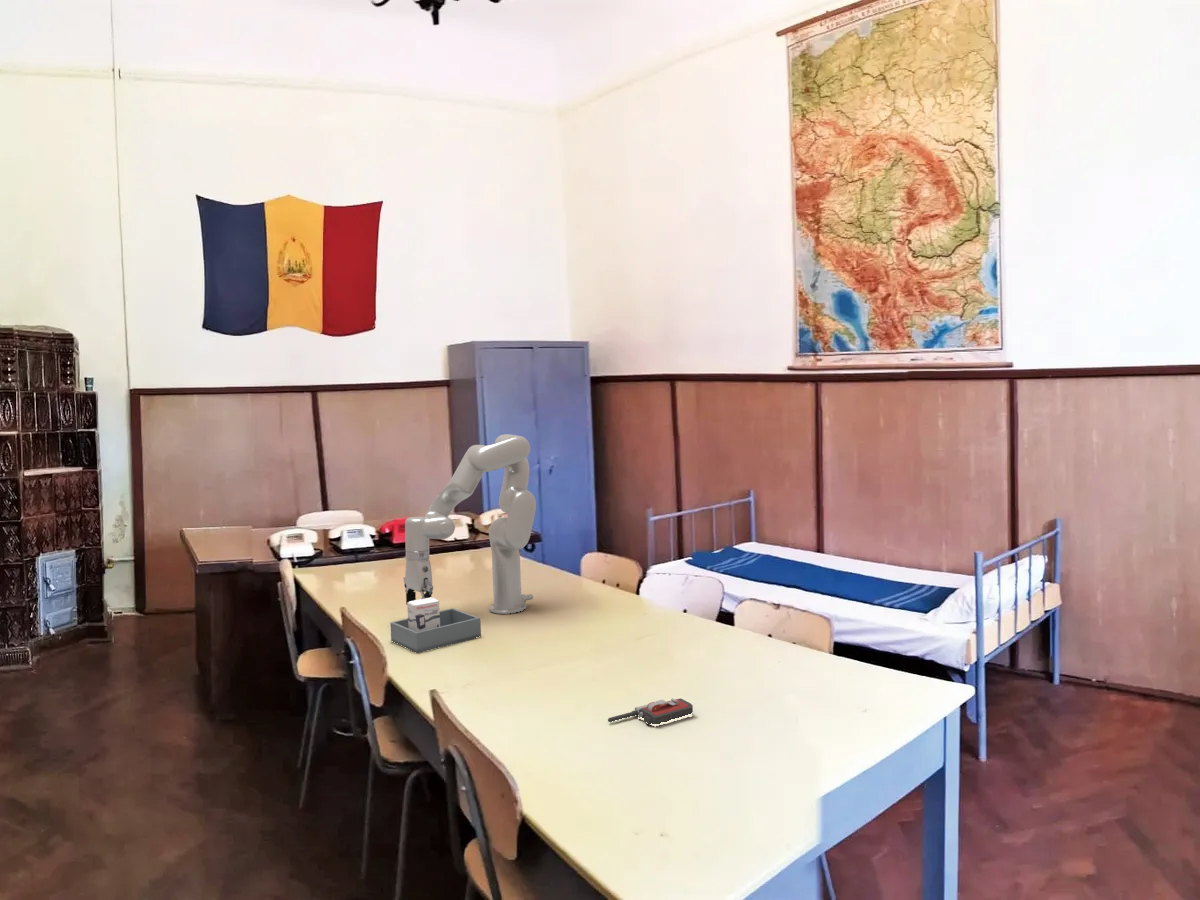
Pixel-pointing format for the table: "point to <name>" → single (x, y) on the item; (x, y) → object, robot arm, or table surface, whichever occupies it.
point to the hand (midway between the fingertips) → (418, 607)
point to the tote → (437, 631)
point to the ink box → (423, 614)
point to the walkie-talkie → (659, 711)
